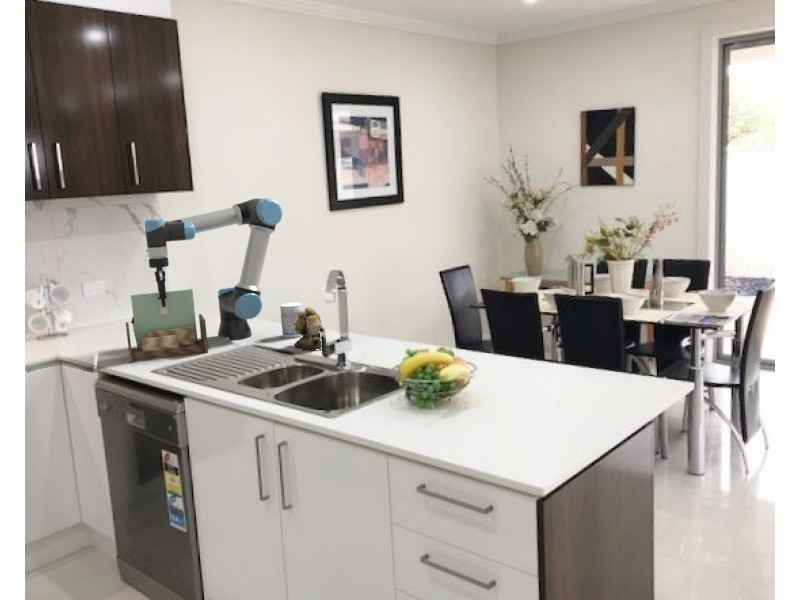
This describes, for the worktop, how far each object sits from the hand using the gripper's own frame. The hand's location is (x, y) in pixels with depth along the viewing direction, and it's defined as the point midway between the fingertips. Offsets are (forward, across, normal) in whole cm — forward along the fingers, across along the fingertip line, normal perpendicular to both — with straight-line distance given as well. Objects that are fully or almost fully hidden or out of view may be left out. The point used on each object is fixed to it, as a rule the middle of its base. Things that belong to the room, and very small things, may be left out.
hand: (164, 313), depth 284 cm
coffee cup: (+18, -14, -8) cm, 24 cm away
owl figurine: (+18, +18, +56) cm, 61 cm away
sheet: (+13, 0, 0) cm, 13 cm away
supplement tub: (+18, -7, +55) cm, 58 cm away
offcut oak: (+16, +3, +2) cm, 17 cm away
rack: (+18, +5, 0) cm, 18 cm away
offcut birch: (+16, +6, -3) cm, 18 cm away
